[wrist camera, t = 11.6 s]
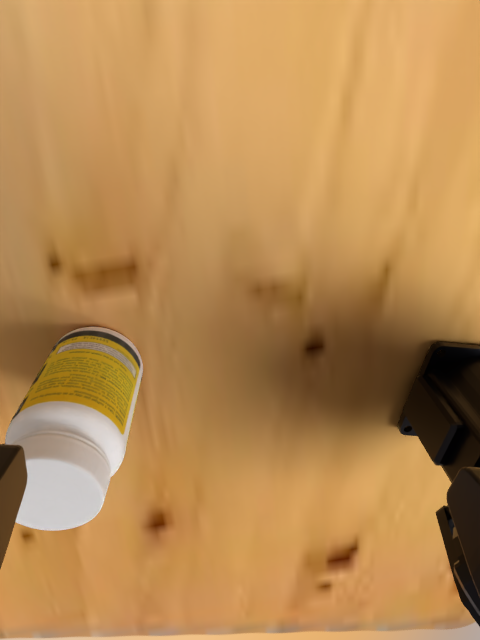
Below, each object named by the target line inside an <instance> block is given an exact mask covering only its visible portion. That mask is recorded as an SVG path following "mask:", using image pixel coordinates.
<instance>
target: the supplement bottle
mask: <svg viewBox="0 0 480 640" xmlns="http://www.w3.org/2000/svg"><path fill="white" fill-rule="evenodd" d="M142 374H143V363H142V359H141V356H140V354H139V352H138V350H137V348H136V347H135V346H134V344H133V343H132V342H131V341H130V340H129V339H128V338H126V337H125V336H123V335H122V334H120V333H118V332H116V331H113V330H111V329H107V328H102V327H84V328H79V329H76V330H73V331H71V332H69V333H67V334H66V335H64V336H63V337H62V338H61V339H60V340H59V341H58V342H57V343H56V345H55V346H54V348H53V349H52V351H51V353H50V354H49V356H48V358H47V360H46V361H45V363H44V365H43V367H42V368H41V370H40V372H39V373H38V375H37V377H36V379H35V381H34V382H33V384H32V386H31V387H30V389H29V391H28V393H27V395H26V396H25V398H24V400H23V402H22V403H21V405H20V407H19V409H18V410H17V412H16V414H15V415H14V417H13V419H12V421H11V423H10V425H9V427H8V430H7V433H6V438H5V444H9V445H20V446H22V447H23V449H24V453H25V460H26V467H27V475H28V477H27V485H26V489H25V492H24V495H23V499H22V502H21V505H20V508H19V511H18V515H17V518H16V521H15V522H16V523H19V524H21V525H24V526H27V527H30V528H34V529H40V530H51V531H54V530H65V529H71V528H75V527H78V526H81V525H83V524H85V523H87V522H89V521H90V520H92V519H93V518H94V517H95V516H96V515H97V514H98V513H99V511H100V510H101V508H102V506H103V503H104V499H105V496H106V492H107V489H108V486H109V483H110V477H112V476H113V475H114V474H115V472H116V471H117V470H118V469H119V467H120V465H121V463H122V461H123V459H124V455H125V452H126V448H127V443H128V438H129V434H130V429H131V424H132V420H133V415H134V411H135V407H136V402H137V398H138V393H139V388H140V384H141V380H142Z"/></svg>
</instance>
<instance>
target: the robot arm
mask: <svg viewBox="0 0 480 640" xmlns="http://www.w3.org/2000/svg"><path fill="white" fill-rule="evenodd" d="M440 350H442V351H441V352H440V353H438V351H440ZM407 426H408V427H407ZM397 427H398V429H399V431H400V433H401V434H403V435H411V436H418V437H419V439H420V441H421V443H422V444H423V446H424V448H425V449H426V451H427V453H428V454H429V456H430V458H431V459H432V461H433V462H434V464H435V465H441V466H442V468H443V469H444V471H445V473H446V474H447V476H448V478H449V479H450V481H451V483H452V484H451V486H450V488H449V489H448V492H447V503H448V505H447V506H443V507H442V508H440V509H439V510H438V511H437V512H436V516H437V519H438V523H439V526H440V530H441V534H442V537H443V541H444V544H445V548H446V552H447V555H448V559H449V563H450V566H451V570H452V573H453V577H454V581H455V584H456V586H457V589H458V592H459V596H460V599H461V601H462V603H463V605H464V606H465V607H466V608H467V609H468V610H469V612H470V614H471V615H472V617H473V618H474V619H475V621H476V622H477V623H478V625H479V626H480V345H469V344H458V343H447V342H437V343H435V344H433V345H432V346H431V347H430V349H429V351H428V354H427V356H426V358H425V361H424V363H423V365H422V368H421V370H420V372H419V375H418V377H417V378H416V380H415V382H414V385H413V387H412V390H411V392H410V394H409V397H408V399H407V401H406V404H405V406H404V409H403V413H402V415H401V417H400V420H399V422H398V425H397ZM27 477H28V475H27V467H26V460H25V453H24V449H23V447H22V446H20V445H9V444H1V445H0V569H1V566H2V563H3V560H4V557H5V553H6V550H7V547H8V544H9V540H10V537H11V534H12V531H13V528H14V524H15V521H16V518H17V515H18V511H19V508H20V505H21V502H22V499H23V495H24V492H25V489H26V485H27Z"/></svg>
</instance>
